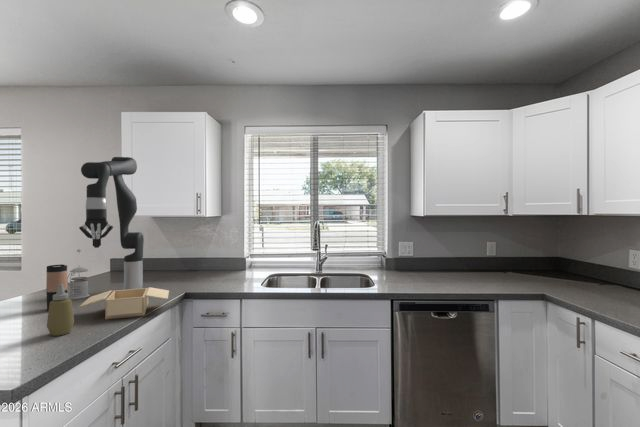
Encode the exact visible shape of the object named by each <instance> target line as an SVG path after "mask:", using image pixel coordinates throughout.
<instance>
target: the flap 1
mask: <svg viewBox="0 0 640 427" xmlns="http://www.w3.org/2000/svg"><path fill="white" fill-rule="evenodd" d="M112 292H113V290H112V289H111V290H108V291H105V292H102V293H98V294H94V295H90V296H88V298H86V300H84V302H83V303H81V304H80V305H79V308H82V307H85V306H89V305H92V304H94V303H97V302H98V303H99V302H102V301H105V300H106V299H107V298H108V297H109V296H110V294H111V293H112Z"/></svg>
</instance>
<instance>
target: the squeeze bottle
mask: <svg viewBox="0 0 640 427" xmlns="http://www.w3.org/2000/svg"><path fill="white" fill-rule="evenodd" d="M68 297H69V293H68V292H67V293H65V291H64V288H63V284H59V285H58V289H57V293H56V294H55V295H53V301H51V302H50V303H49V311H47V313H48V314H47V320H46V328H47V330H48V332H49V334H50V336H53V337H57V336H59V337H60V336H63V335H64V336H65V335H67V334H70V333H71V331H72V328H73V326H74V323H75V317H74V310H73V302H72V299H69V298H68Z"/></svg>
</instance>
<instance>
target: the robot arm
mask: <svg viewBox="0 0 640 427" xmlns="http://www.w3.org/2000/svg"><path fill="white" fill-rule="evenodd" d="M137 169H138V163H137V161H136V159H134V157H127V156H126V157H125V156H113V157H112V158H111V160H108V161H107V160H105V161H100V162H99V161H96V162H94V161H91V162H90V161H89V162H85V163H84V164H82V165H81V168H80V173H81V175H83V177H84V178H86V179H93V180H96V179H97V181H96V182H94V183H90V184H87V186H86V201H85V221H84V224H83V225H81V226H79V227H78V229H79V230H80V231H81V232H82V234H84V235H85V236H86V237H87V238H88V239H92V247H94V248H95V249H97V248H98V249H99V248H100V247H101V245H102V239H103V238H106V237H107V236H108V234H109V233H110V232H111V231H112V230H113V228H114V226H113V225H111V224H109V222H108V220H107V218H108V217H107V215H108V213H107V210H108V209H107V197H106V196H107V194H106V192H107V191H106V189H107V185H108V181H109V178H110V177H111V176H112V178H113V182H114V188H115V196H116V207H117V214H118V219H119V221H118V222H119V238H120V239H119V240H120V246H121V248H122V249H124V250H130V249H131V250H133V249H134V252H132V253H130V254H127V255H125V256H124V257H123V290H129V289H143V288H144V285H143V284H144V280H143V278H144V277H143V276H144V273H143V271H144V270H143V268H144V267H143V266H144V265H143V264H144V262H143V261H144V260H143V259H144V258H143V257H144V239H145V238H144V234H143V232H140V231H139V232H138V231H137V232H134V231H133V232H129V226H130V224H131V222H132V220H133V218H134V217H135V215H136V214H137V210H138V207H137V206H138V205H137V198H136V196H135V195H134V193H133V192H132V189H131V188H129V187H128V185H127V184H126V183H125V179H124V177H123V176H126V175H127V176H128V175H134V174H135V173H136V172H137ZM87 229H88V230H89V231H91V232H89V231H88V230H87ZM104 229H105V232H103V231H104ZM102 232H103V233H102Z"/></svg>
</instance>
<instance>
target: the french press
mask: <svg viewBox="0 0 640 427" xmlns="http://www.w3.org/2000/svg"><path fill="white" fill-rule="evenodd" d="M76 252H77V253H81V252H82V250H81V249H80V248H79V249H76ZM69 272H70V273H69V274H67V286H69V295H68V298H67V299H71V300H72V299H73V300H75V299H76V300H77V299H85V298H87V297H88V298H89V297H91V295H90V293H89V280H88V276H76V277H72V276H75V275H76V274H80V273H85V272H89V269H87V268H86V267H80V266H78V267H74V268H73V269H71V270H70V271H69ZM71 277H72V278H71ZM68 279H69V280H68Z"/></svg>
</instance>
